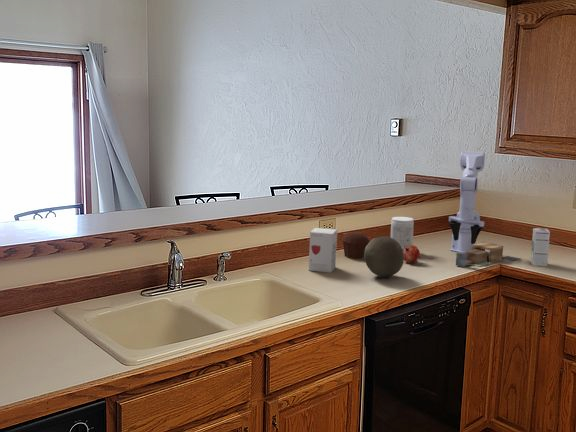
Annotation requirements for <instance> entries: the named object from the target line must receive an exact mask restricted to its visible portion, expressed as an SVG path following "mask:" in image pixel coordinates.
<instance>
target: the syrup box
mask: <svg viewBox="0 0 576 432" xmlns="http://www.w3.org/2000/svg"><path fill="white" fill-rule="evenodd" d="M550 235H551V232H550V230H549V229H548V228H543V227H542V228H541V227H540V228H539V227H536V228H534V227H533V229H532V239H531V249H530V250H531V251H530V261H529V262H530V264H531V265H532V266H536V267H548V262H549V261H548V260H549V248H550V238H551V237H550Z"/></svg>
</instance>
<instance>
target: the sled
mask: <svg viewBox="0 0 576 432" xmlns="http://www.w3.org/2000/svg"><path fill="white" fill-rule="evenodd" d="M487 252H488V250H485V251H482V250H477V249H474V250H470V251H466V252H465V253H464V252H456V253H455V255H456V256H455V266H456V267H457V266H459V267H466V266H469V265H470V264H473V263H474V264H478V263H482V262H488V256H487ZM470 266H471V265H470Z"/></svg>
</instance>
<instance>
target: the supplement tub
mask: <svg viewBox="0 0 576 432" xmlns="http://www.w3.org/2000/svg"><path fill="white" fill-rule="evenodd" d="M390 223H391V224H390V238H393V239H394V240H396V241H397V242H398V243H399V244H400V246H401V248H402V250H404V248H405V247H408V246H409V245H413V244H414V242H413V239H414V229H415V228H414V224H415V222H414V218H413V217H410V216H393V217H392V218H391V222H390Z"/></svg>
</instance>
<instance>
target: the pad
mask: <svg viewBox="0 0 576 432" xmlns="http://www.w3.org/2000/svg"><path fill="white" fill-rule="evenodd" d="M490 264H491V263H490V262H489V261H485V262H482V263H478V264H474V263H473V264H470V266H475V267H479V268H480V267H483V266H487V265H490Z"/></svg>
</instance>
